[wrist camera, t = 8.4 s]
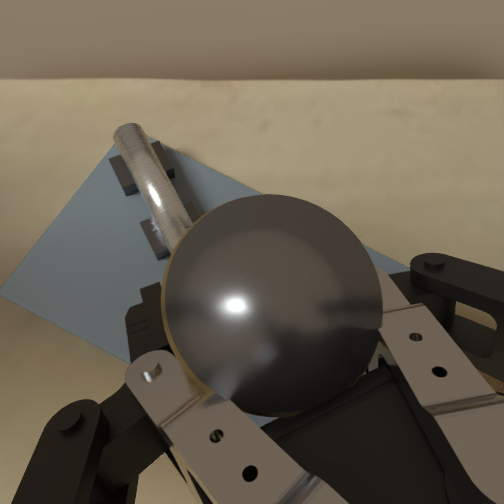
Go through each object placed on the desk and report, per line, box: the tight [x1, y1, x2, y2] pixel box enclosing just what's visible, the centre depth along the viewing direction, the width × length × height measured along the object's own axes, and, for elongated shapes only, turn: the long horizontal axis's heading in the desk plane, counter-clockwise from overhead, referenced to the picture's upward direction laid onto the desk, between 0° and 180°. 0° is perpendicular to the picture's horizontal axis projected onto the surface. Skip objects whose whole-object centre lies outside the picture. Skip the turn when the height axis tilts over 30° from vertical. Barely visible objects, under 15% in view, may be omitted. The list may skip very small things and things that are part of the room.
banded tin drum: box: [161, 194, 383, 417], centre depth 12 cm, size 5×5×10 cm
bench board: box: [0, 137, 410, 427], centre depth 24 cm, size 25×14×1 cm, turn 64°
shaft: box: [108, 123, 201, 261], centre depth 24 cm, size 9×4×4 cm, turn 29°
